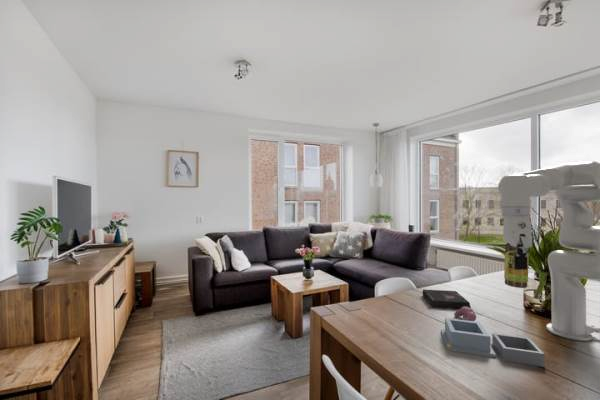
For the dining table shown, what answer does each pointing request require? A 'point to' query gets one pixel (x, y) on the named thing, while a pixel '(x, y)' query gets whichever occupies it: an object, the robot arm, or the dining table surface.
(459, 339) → the socket dock
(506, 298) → the dining table surface
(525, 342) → the grey square frame
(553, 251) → the robot arm
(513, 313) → the dining table surface
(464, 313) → the video game controller
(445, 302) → the portable cd player
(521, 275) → the sauce bottle
